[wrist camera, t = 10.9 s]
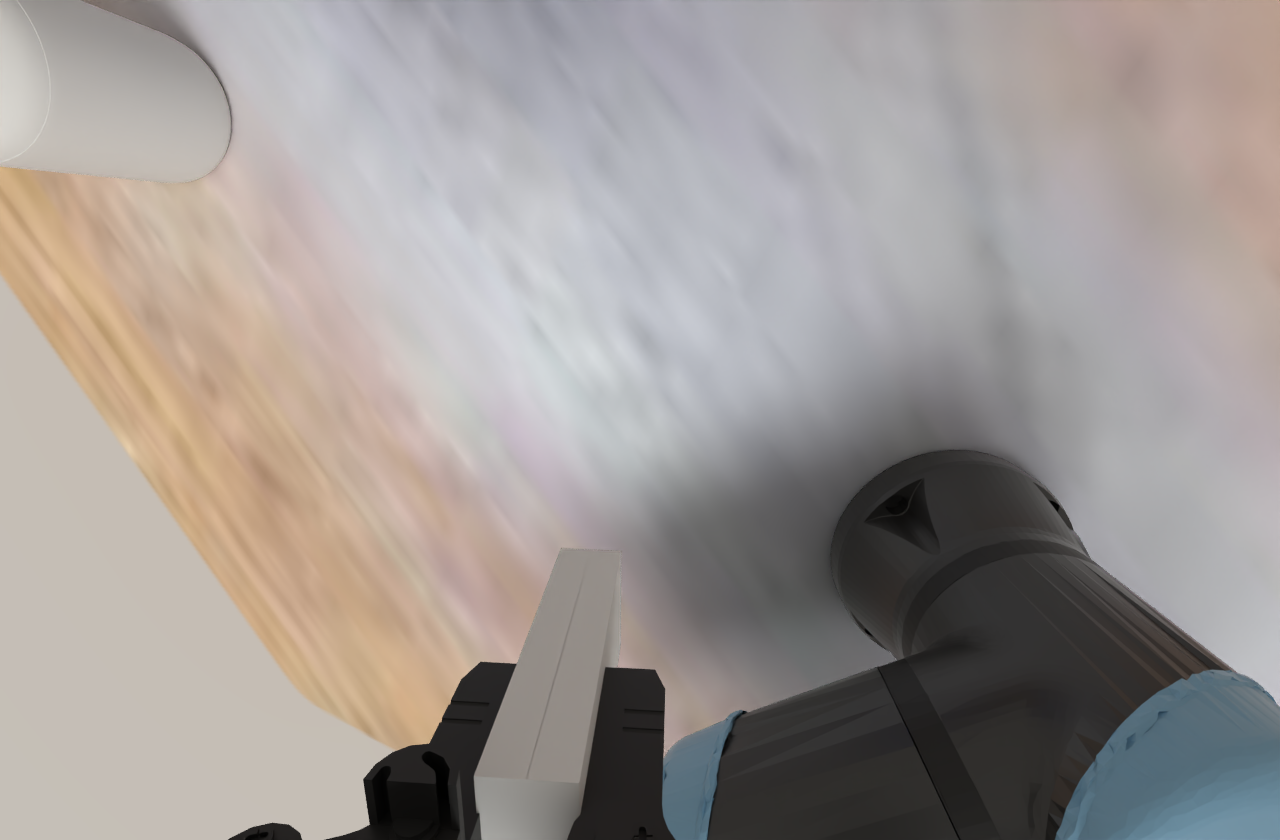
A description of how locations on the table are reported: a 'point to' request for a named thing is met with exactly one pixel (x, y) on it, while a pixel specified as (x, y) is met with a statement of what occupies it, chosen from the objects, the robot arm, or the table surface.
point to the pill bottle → (104, 96)
